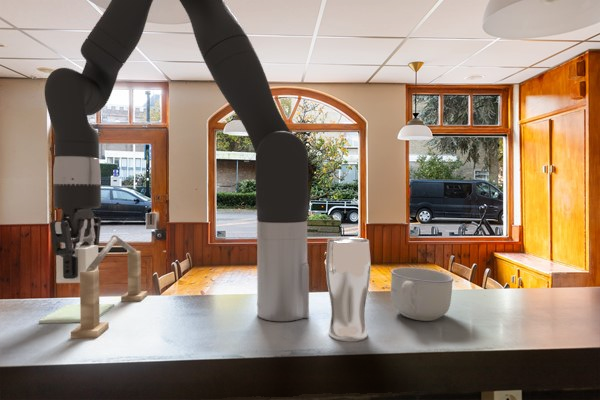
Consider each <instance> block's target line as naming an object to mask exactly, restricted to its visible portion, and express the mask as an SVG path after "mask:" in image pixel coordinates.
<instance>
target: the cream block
mask: <svg viewBox="0 0 600 400" xmlns="http://www.w3.org/2000/svg"><path fill="white" fill-rule="evenodd" d="M72 249H73V245H72ZM98 254H99V246H98V245H81V246H79V249H78V256H77V257H78V277H76V278H74V279H65V278H64V277H63V257H61V256H59V255H55V261H56V263H55V265H56V267H55V269H56V271H55V272H56V273H55V276H56V279H55V281H56V284H80V272H82V271H84V270H87V268H88V267H89V266H90V264H91V263H92V262H93V261H94V259H95V258H96V257H97V256H98ZM97 269H99V265H98V266H97V267H96V269H95V270H97Z"/></svg>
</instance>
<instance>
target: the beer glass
mask: <svg viewBox="0 0 600 400" xmlns="http://www.w3.org/2000/svg"><path fill="white" fill-rule="evenodd" d="M326 241H327V243H326V246H327V247H326V257H325V258H326V259H325V272H326V273H325V274H326V275H325V276H326V284H327V289H328V295H329V302H330V312H331V313H330V314H331V316H330V323H329V328H328V335H329V336H330V337H331V338H332V339H333V340H337V341H340V342H348V343H349V342H360V341H363V340H365V339H367V337H368V334H369V333H368V327H367V323H366V322H367V321H366V306H367V305H366V304H367V299H368V294H369V287H370V281H371V270H372V269H371V252H370V251H371V250H370V240H369V239H368V238H361V237H331V238H328V239H327V240H326Z"/></svg>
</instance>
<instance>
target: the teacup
mask: <svg viewBox="0 0 600 400" xmlns="http://www.w3.org/2000/svg"><path fill="white" fill-rule="evenodd" d="M390 273H391V280H390V300H391V303H392V305H393V307H394V308H395V309H397V311H398V312H399V313H400V315H402V316H403V317H406V318H409V319H411V320H414V321H415V320H416V321H424V322H432V321H437V320H438V319H439V318H440V317H442V316H444V315H446V314H447V313H448V311H449V309H450V306H451V301H452V293H453V282H454V277H453V276H452V275H451V274H449V273H447V272H443V271H438V270H435V269H428V268H424V267H423V268H422V267H395V268H392V269H391V270H390Z"/></svg>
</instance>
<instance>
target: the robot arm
mask: <svg viewBox="0 0 600 400" xmlns="http://www.w3.org/2000/svg"><path fill="white" fill-rule="evenodd" d="M153 1H154V0H111V1H110V3H109V4H108V5H107V7H106V8H105V10H104V12H103V13H102V15H101V17H100V18H99V20H98V21H97V22H96V24H95V26H94V27H93V28H92V29H91V31H90V33H89V34H88V35H87V37H86V38H85V40H84V41H83V43H82V45H81V46H80V54H81V55H82V57H83V58H84V60H85V63H84V64H85V65H84V66H83V70H82V71H81V72H79V71H77V70H75V69H73V68H69V67H58V68H55V69H54V70H53V71H52V72H50V74H49V75H48V77H47V78H46V79H45V80H46V81H45V84H44V101H45V104H46V109H47V112H48V117H49V119H50V123H51V126H52V128H53V129H52V130H53V132H54V163H53V170H52V171H53V175H52V176H53V177H52V178H53V181H52V183H53V207H54V208H55V209H56V210H61V216H60V220H59V221H51V222H50V225H49V227H50V234H51V241H52V246H53V247H52V248H53V253H54V255H55V256H56V255H59V256H61V257H63V277H64V278H65V279H74V278H76V277H78V257H77V256H78V249H79V246H81V245H98V247H99V245H100V235H101V224H102V218H101V217H99V216H98V217H97V216H94V212H93V209H99V208H101V206H102V184H101V183H102V181H101V180H102V179H101V177H102V175H101V174H102V173H101V165H100V142H99V141H100V139H99V138H100V137H99V132H98V131H97V130H96V129H95V128H94V127H93V126H92V125H91V124H90V122H89V118H88V116H92V115H95V114H97V113H98V112H101V110H102V109H103V108H104V107H105V106H106V105H107V103H108V101H109V100H110V97H111V96H112V92H113V90H114V87H115V84H116V82H117V79H118V77H119V76H118V75H119V72H120V70H121V69H122V68H123V67H124V65H125V64H126V62H127V60H128V59H129V58H130V57H131V55H132V54H133V52H134V51H135V49H136V47H137V45H138V44H139V42H140V40H141V39H142V36H143V32H144V30H145V27H146V23H147V20H148V16H149V12H150V10H151V6H152V4H153ZM178 1H179V3H181V5H182V7H183V8H184V10H185V12H186V14H187V16H188V18H189V21H190V23H191V27H192V28H191V29H192V30H193V31H192V32H193V35H194V38H195V41H196V44H197V47H198V50H199V52H200V54H201V57H202V59H203V61H204V63H205V65H206V67H207V69H208V71H209V72H210V76H211V77H212V79H213V81H214V82H215V85H217V87H218V89H219V91H220V92H221V94H222V95H223V97H224V98H225V100H226V102H227V103H228V104H229V106H230V107H231V109H232V110H233V111H234V113H235V114H236V116H237V118H239V120H240V122H241V124H242V125H243V127H244V128H245V131H246V133H247V136H248V138H249V141H250V142H251V145H252V148H253V150H254V153H255V171H254V172H255V206H256V222H257V223H256V234H257V235H256V239H257V241H256V244H257V245H256V250H257V253H256V255H257V257H256V260H257V262H256V265H257V266H256V267H257V268H256V270H257V275H256V276H257V277H256V278H257V279H256V283H257V287H256V288H257V289H256V290H257V294H256V295H257V299H256V300H257V302H256V303H257V304H256V305H257V317H259V318H260V319H262V320H266V321H272V322H290V321H297V320H300V319H308V318H309V317H310V305H309V304H310V300H309V299H310V292H309V291H310V289H309V288H310V285H309V284H310V281H309V280H310V279H309V278H310V270H309V269H310V265H309V264H308V206H309V205H308V204H309V195H308V194H309V154H308V150H307V147H306V144H304V142H303V141H302V139H301V138H300V137H299V136H298V135H296V134H294V133H292V132H291V130H290V129H289V127H288V126H287V124H286V121H285V120H284V119H283V117H282V115H281V113H280V111H279V109H278V107H277V105H276V103H275V102H276V101H275V99H274V96H273V93H272V91H271V87H270V84H269V81H268V79H267V75H266V73H265V71H264V68H263V65H262V63H261V61H260V59H259V56H258V55H257V52H256V50H255V47H254V46H253V44H252V43H251V42H252V41H251V40H250V38H249V36H248V34H247V33H246V31H245V29H244V28H243V25H241V22H240V21H239V20H238V19H237V17H236V16H235V15H234V14H233V12H232V10H231V9H230V8H229V6H228V5H227V4H226V3H225V1H224V0H178ZM72 246H73V249H72Z"/></svg>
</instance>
